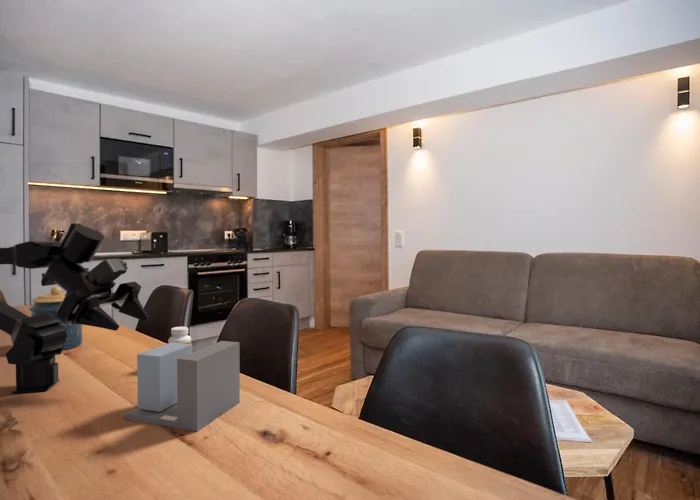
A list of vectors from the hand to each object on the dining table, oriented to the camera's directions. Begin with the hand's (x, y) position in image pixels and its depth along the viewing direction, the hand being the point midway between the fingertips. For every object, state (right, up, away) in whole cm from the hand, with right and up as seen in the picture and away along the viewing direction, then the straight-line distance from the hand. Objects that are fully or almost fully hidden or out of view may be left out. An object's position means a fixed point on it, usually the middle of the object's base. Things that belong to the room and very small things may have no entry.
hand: (133, 323), depth 87 cm
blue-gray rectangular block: (+9, -14, -6) cm, 18 cm away
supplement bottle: (+2, -14, +19) cm, 24 cm away
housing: (+13, -15, -7) cm, 21 cm away
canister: (-42, -13, +37) cm, 58 cm away
